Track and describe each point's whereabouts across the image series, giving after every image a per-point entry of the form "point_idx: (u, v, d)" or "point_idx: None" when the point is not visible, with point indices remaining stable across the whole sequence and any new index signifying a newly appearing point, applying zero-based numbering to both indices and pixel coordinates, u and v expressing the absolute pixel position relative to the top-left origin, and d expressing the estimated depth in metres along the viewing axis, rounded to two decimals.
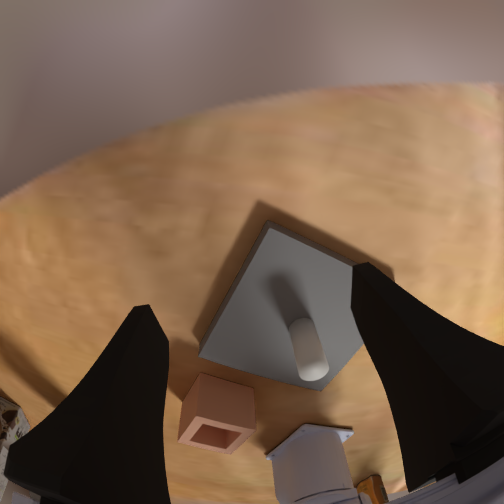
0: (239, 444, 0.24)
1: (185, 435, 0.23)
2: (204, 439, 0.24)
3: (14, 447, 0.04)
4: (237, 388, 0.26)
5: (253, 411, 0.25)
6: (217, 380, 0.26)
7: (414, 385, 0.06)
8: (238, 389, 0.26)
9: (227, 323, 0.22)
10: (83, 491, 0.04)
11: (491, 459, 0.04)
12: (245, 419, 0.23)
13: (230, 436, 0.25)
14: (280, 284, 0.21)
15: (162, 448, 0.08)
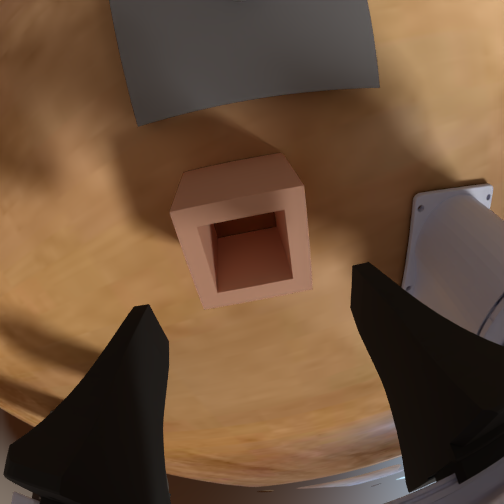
0: (306, 249, 0.13)
1: (199, 282, 0.14)
2: (246, 279, 0.15)
3: (14, 447, 0.04)
4: (252, 161, 0.15)
5: (289, 169, 0.13)
6: (213, 167, 0.16)
7: (414, 385, 0.06)
8: (254, 161, 0.15)
9: (132, 43, 0.11)
10: (83, 491, 0.04)
11: (491, 459, 0.04)
12: (275, 181, 0.12)
13: (287, 248, 0.14)
14: None
15: (162, 448, 0.08)
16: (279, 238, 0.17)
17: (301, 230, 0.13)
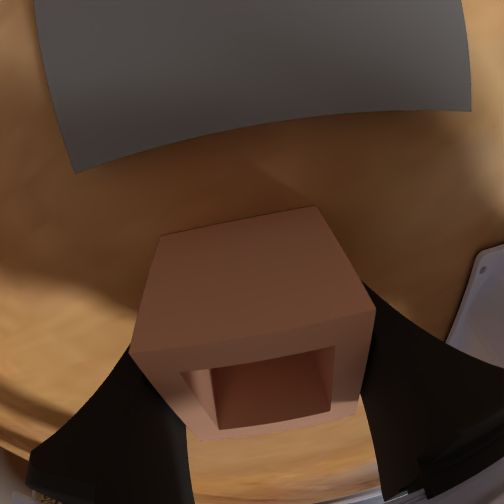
0: (356, 383, 0.08)
1: (192, 422, 0.08)
2: (260, 408, 0.09)
3: (36, 453, 0.04)
4: (269, 223, 0.10)
5: (339, 255, 0.08)
6: (205, 231, 0.10)
7: (384, 395, 0.06)
8: (272, 223, 0.10)
9: (60, 28, 0.05)
10: (117, 497, 0.04)
11: (462, 476, 0.04)
12: (320, 290, 0.07)
13: (324, 370, 0.09)
14: None
15: (186, 448, 0.08)
16: None
17: (355, 365, 0.07)
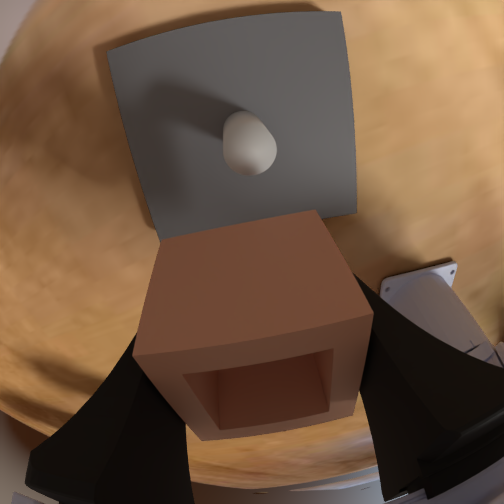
0: (354, 385, 0.08)
1: (193, 422, 0.08)
2: (261, 408, 0.09)
3: (36, 453, 0.04)
4: (269, 227, 0.10)
5: (338, 259, 0.08)
6: (207, 235, 0.10)
7: (385, 395, 0.06)
8: (272, 227, 0.10)
9: (153, 182, 0.16)
10: (116, 497, 0.04)
11: (463, 476, 0.04)
12: (319, 294, 0.07)
13: (323, 371, 0.09)
14: (166, 93, 0.13)
15: (185, 448, 0.08)
16: None
17: (354, 367, 0.07)
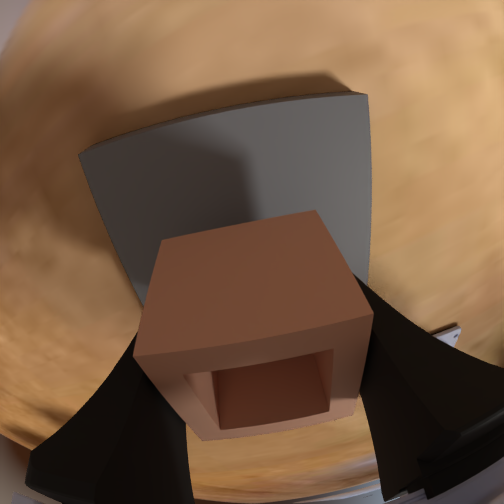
0: (355, 385, 0.08)
1: (194, 422, 0.08)
2: (261, 408, 0.09)
3: (36, 453, 0.04)
4: (269, 227, 0.10)
5: (338, 259, 0.08)
6: (207, 235, 0.10)
7: (384, 395, 0.06)
8: (273, 228, 0.10)
9: None
10: (117, 497, 0.04)
11: (463, 476, 0.04)
12: (319, 295, 0.07)
13: (323, 371, 0.09)
14: (155, 208, 0.12)
15: (185, 448, 0.08)
16: None
17: (354, 367, 0.07)
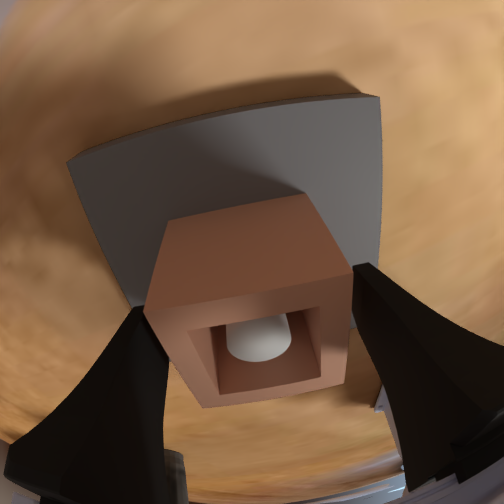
0: (342, 347, 0.09)
1: (195, 386, 0.09)
2: (257, 375, 0.10)
3: (14, 447, 0.04)
4: (264, 207, 0.11)
5: (324, 231, 0.09)
6: (209, 215, 0.11)
7: (414, 385, 0.06)
8: (267, 208, 0.11)
9: None
10: (83, 491, 0.04)
11: (491, 459, 0.04)
12: (306, 258, 0.08)
13: (314, 338, 0.10)
14: (150, 219, 0.11)
15: (162, 448, 0.08)
16: None
17: (340, 328, 0.08)
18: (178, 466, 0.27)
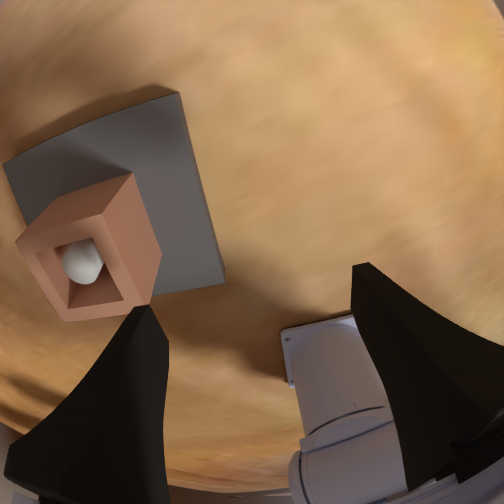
0: (125, 273, 0.13)
1: (52, 299, 0.13)
2: (92, 297, 0.14)
3: (14, 447, 0.04)
4: (102, 184, 0.15)
5: (113, 194, 0.13)
6: (75, 192, 0.15)
7: (414, 385, 0.06)
8: (103, 184, 0.15)
9: None
10: (83, 491, 0.04)
11: (491, 459, 0.04)
12: (90, 209, 0.12)
13: None
14: (46, 197, 0.15)
15: (162, 449, 0.08)
16: None
17: (113, 255, 0.12)
18: None
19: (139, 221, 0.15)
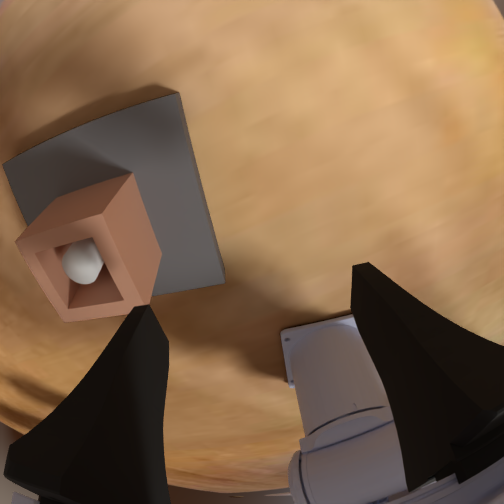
0: (125, 273, 0.13)
1: (52, 299, 0.13)
2: (92, 297, 0.14)
3: (14, 447, 0.04)
4: (102, 184, 0.15)
5: (113, 194, 0.13)
6: (75, 192, 0.15)
7: (414, 385, 0.06)
8: (103, 184, 0.15)
9: None
10: (83, 491, 0.04)
11: (491, 459, 0.04)
12: (90, 209, 0.12)
13: None
14: (46, 197, 0.15)
15: (162, 449, 0.08)
16: None
17: (113, 255, 0.12)
18: None
19: (139, 221, 0.15)
